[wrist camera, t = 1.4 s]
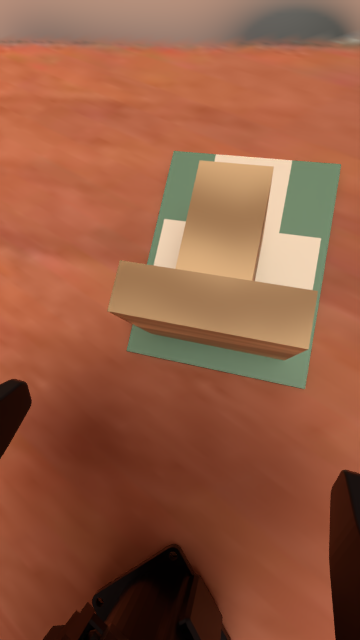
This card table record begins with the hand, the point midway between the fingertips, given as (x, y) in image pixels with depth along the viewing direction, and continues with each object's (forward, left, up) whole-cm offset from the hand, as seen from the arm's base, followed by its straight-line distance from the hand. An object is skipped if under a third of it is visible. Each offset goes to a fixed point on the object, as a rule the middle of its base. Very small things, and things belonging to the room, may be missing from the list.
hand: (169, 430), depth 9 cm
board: (+7, +7, -14) cm, 17 cm away
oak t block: (+5, +6, -13) cm, 15 cm away
